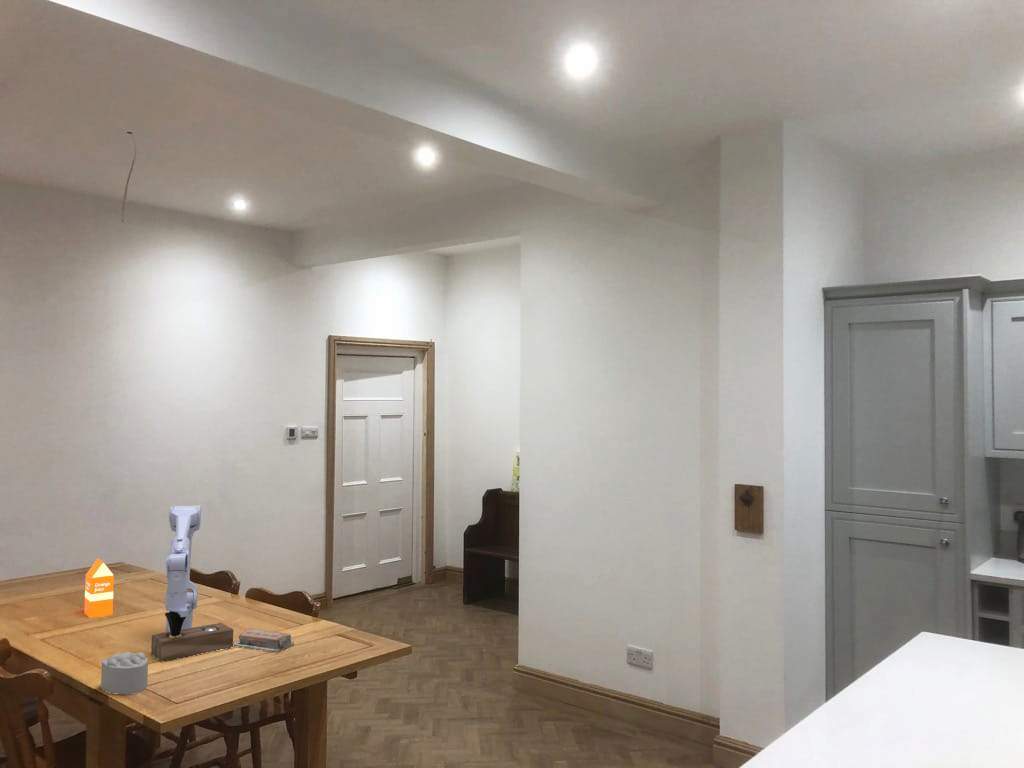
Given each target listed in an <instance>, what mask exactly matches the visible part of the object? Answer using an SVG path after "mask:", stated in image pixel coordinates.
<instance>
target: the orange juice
mask: <svg viewBox="0 0 1024 768" xmlns="http://www.w3.org/2000/svg"><path fill="white" fill-rule="evenodd" d="M114 578H115V576H114V574H113V572H112V571H111V570H110V568H109V567H108V566H107V565H106V564H105V562H104V561H103V560H101V559H100V558H97V559H96V560H95V562H94V563H93V565H92V566H91V567H90V568H89V570H88V571H87V572H86V573H85V581H84V582H85V585H84V587H85V589H84V614H85V615H86V616H87V617H88V618H90V619H92V618H100V617H107V616H113V612H114V611H113V606H114V585H115V584H114V582H115V579H114Z"/></svg>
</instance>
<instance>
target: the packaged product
mask: <svg viewBox="0 0 1024 768" xmlns="http://www.w3.org/2000/svg"><path fill="white" fill-rule="evenodd" d="M238 639H239V640H237V641H233V645H234V646H239V647H238V648H242V647H244V648H243V649H246V648H250V649H249V650H252V649H256V650H255V651H258V650H263V651H262V652H266V651H268V653H269V652H270V653H272V652H278V651H280V652H282V651H284V650H286V649H288V648H287V647H289V648H290V646H291V647H293V646H295V641H294V640H292V634H290V633H286V632H280V631H273V630H267V629H266V630H265V629H259V628H246V629H245V630H243V632H241V633H240V634H238ZM292 645H293V646H292ZM285 648H286V649H285ZM283 649H284V650H283ZM281 650H282V651H281ZM278 653H279V652H278Z"/></svg>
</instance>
